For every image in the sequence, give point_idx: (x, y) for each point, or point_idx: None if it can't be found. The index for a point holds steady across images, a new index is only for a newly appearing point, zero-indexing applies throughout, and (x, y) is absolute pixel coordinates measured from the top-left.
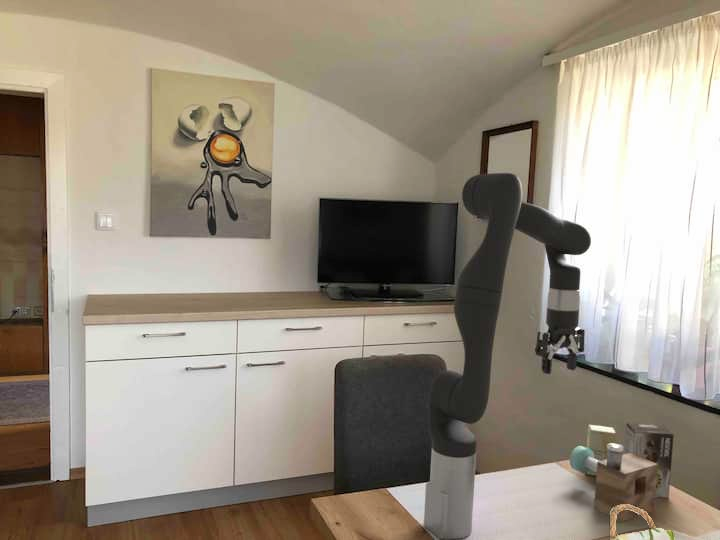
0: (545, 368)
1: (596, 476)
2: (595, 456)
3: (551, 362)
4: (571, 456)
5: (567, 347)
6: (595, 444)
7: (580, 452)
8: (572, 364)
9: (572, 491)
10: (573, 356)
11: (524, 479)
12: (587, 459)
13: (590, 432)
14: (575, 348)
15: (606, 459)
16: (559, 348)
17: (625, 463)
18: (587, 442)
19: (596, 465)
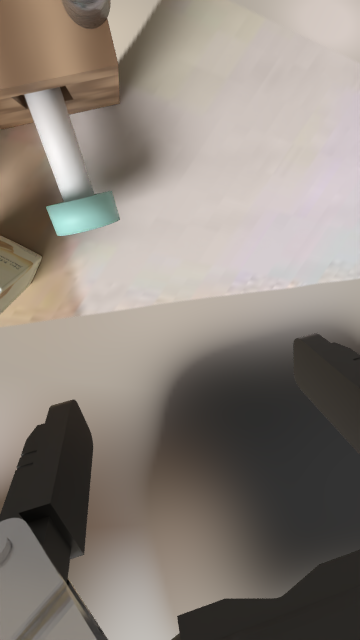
0: (357, 357)
1: (118, 80)
2: (11, 258)
3: (355, 383)
4: (117, 216)
5: (192, 613)
6: (2, 268)
7: (98, 201)
8: (72, 437)
9: (121, 190)
10: (56, 505)
11: (188, 261)
12: (84, 185)
13: (5, 288)
14: (19, 627)
15: (74, 72)
16: (356, 554)
17: (18, 10)
18: (10, 299)
19: (76, 146)
